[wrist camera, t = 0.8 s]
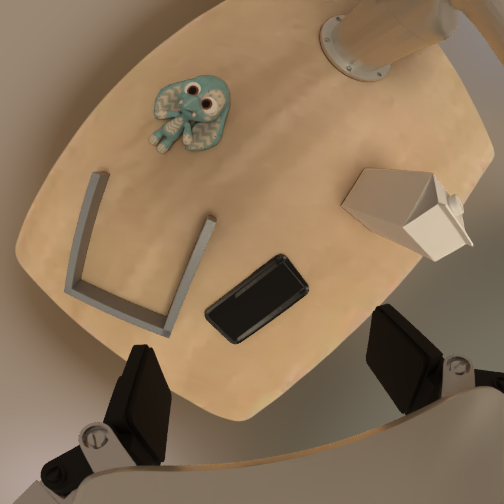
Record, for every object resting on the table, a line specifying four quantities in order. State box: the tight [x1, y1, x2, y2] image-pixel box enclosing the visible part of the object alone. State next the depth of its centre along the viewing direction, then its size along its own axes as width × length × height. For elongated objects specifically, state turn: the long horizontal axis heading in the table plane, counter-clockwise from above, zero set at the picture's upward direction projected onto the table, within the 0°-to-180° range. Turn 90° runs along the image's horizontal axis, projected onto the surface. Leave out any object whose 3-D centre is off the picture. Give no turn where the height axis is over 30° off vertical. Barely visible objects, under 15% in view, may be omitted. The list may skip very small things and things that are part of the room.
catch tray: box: [64, 172, 216, 338], centre depth 34 cm, size 18×17×4 cm
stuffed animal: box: [149, 75, 230, 154], centre depth 29 cm, size 11×7×12 cm
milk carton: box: [341, 168, 473, 261], centre depth 29 cm, size 7×7×19 cm
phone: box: [205, 254, 309, 344], centre depth 40 cm, size 8×1×15 cm
